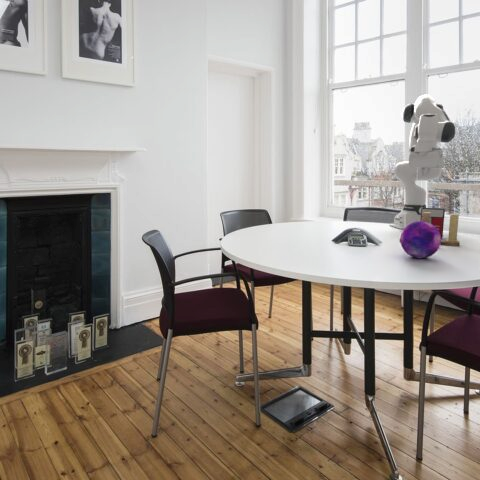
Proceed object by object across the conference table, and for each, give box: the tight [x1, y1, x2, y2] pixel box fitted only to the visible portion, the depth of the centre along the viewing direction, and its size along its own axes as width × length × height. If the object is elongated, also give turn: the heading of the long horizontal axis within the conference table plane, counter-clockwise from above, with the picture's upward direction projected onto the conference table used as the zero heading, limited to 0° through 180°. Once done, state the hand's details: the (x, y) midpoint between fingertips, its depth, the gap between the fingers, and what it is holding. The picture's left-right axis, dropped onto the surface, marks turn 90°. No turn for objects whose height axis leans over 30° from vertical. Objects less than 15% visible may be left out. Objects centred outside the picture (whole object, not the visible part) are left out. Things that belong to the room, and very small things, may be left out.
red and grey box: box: [420, 207, 446, 238], centre depth 228 cm, size 11×4×15 cm, turn 62°
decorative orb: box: [399, 221, 441, 259], centre depth 176 cm, size 15×15×15 cm
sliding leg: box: [422, 212, 431, 223], centre depth 211 cm, size 5×5×13 cm
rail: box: [399, 237, 460, 247], centre depth 211 cm, size 26×7×2 cm, turn 65°
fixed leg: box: [446, 213, 460, 243], centre depth 206 cm, size 5×5×13 cm
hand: (424, 177), depth 214 cm, fingers closed
